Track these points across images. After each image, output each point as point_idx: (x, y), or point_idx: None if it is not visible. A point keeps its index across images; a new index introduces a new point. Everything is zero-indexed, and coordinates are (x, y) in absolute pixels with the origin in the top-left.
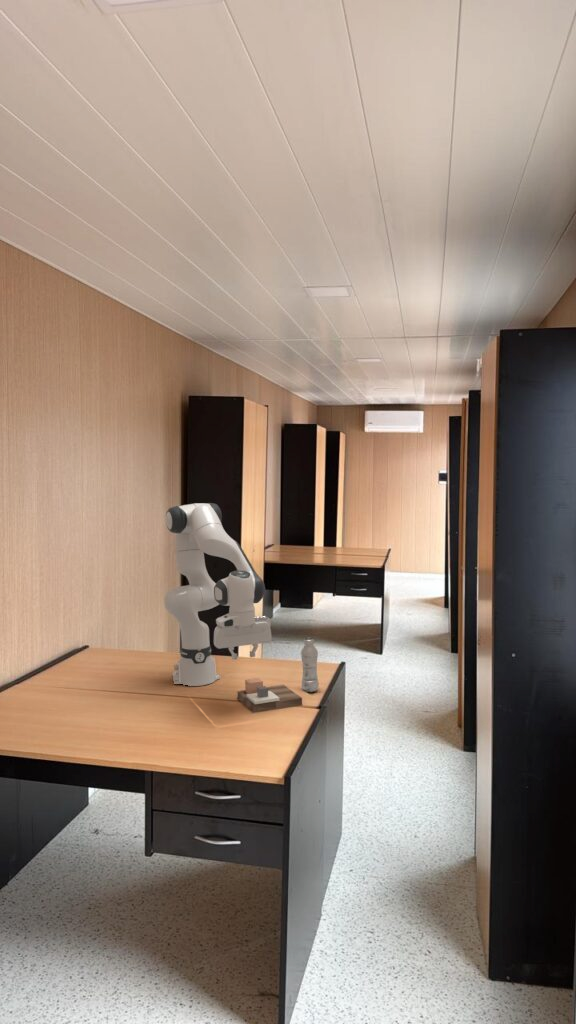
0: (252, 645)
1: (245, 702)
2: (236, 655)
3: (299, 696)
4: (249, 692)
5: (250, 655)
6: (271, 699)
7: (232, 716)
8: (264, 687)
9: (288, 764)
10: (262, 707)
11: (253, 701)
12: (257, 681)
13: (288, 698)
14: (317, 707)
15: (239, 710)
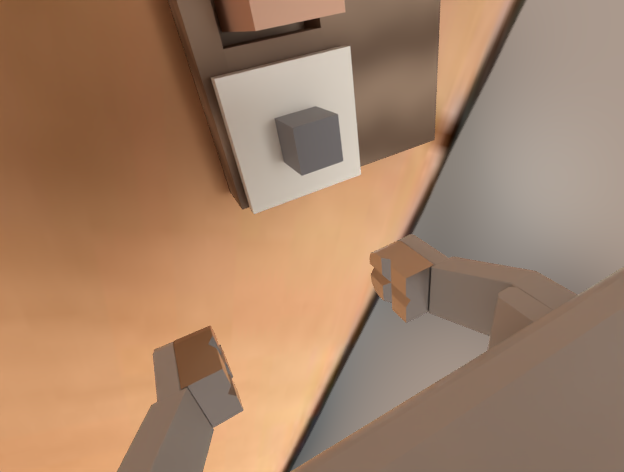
0: (501, 303)
1: (198, 80)
2: (228, 403)
3: (434, 118)
4: (234, 22)
5: (380, 272)
6: (327, 185)
7: (130, 192)
8: (330, 144)
9: (285, 463)
10: None
11: (247, 195)
12: (313, 2)
13: (392, 136)
14: (446, 136)
15: (160, 108)
